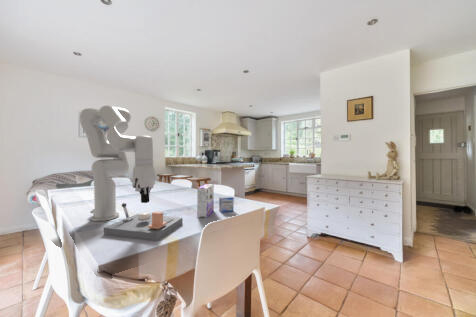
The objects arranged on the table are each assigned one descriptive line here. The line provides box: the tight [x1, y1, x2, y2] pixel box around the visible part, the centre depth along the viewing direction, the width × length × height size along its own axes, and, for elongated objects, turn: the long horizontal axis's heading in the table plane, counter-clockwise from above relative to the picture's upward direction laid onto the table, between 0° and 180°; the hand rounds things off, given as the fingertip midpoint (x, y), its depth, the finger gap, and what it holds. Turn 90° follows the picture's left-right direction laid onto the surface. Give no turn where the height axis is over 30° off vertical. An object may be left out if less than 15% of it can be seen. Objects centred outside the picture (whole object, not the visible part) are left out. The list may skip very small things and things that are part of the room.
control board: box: [103, 213, 183, 242], centre depth 90 cm, size 26×20×4 cm
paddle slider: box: [148, 211, 167, 229], centre depth 84 cm, size 5×6×6 cm
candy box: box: [197, 183, 215, 219], centre depth 113 cm, size 14×6×16 cm, turn 172°
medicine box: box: [218, 195, 235, 214], centre depth 119 cm, size 8×4×9 cm, turn 114°
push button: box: [137, 211, 151, 221], centre depth 90 cm, size 5×5×2 cm
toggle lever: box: [121, 202, 130, 219], centre depth 93 cm, size 2×2×7 cm
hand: (145, 202), depth 90 cm, fingers closed
